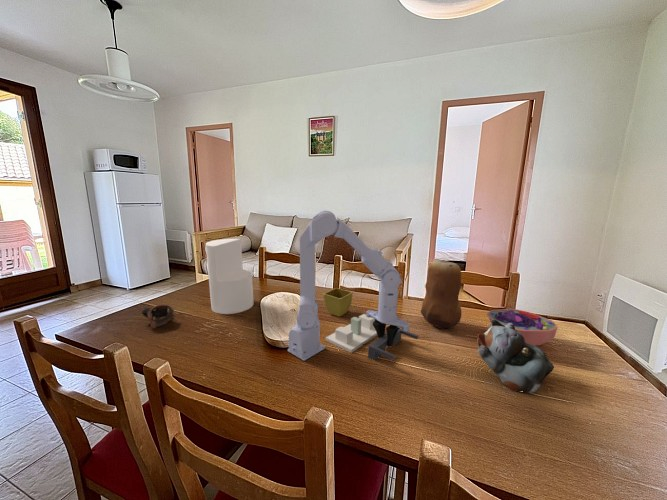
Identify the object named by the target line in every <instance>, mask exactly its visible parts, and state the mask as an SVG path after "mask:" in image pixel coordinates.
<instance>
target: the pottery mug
mask: <svg viewBox="0 0 667 500" xmlns="http://www.w3.org/2000/svg"><path fill="white" fill-rule="evenodd" d="M168 310H169V311H168ZM174 311H175V310H174V308H172V307H171V306H170V305H169V304H165V303H164V304H163V303H161V304H156V305H154V306H153V307H144V308H143V309H142V310H141V314H142V316H144V317H145V318H147V319H148V322H150V328H151V329H153V330H156V328H158V327H161V326H163V325H165V324H168V323H169V322H170V321H171V320H172V319H173V318H174V317H175V316H176V315H175V314H174Z"/></svg>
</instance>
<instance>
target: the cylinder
mask: <svg viewBox="0 0 667 500" xmlns="http://www.w3.org/2000/svg"><path fill="white" fill-rule="evenodd" d="M242 249H243V248H242V238H223V239H214V240H210V241H208V242H206V243H205V252H206V263H207V264H206V266H207V274H208V284H209V296H210V304H211V305H210V307H211V308H210V309H211V311H212V312H214V313H216V314H221V315H231V314H232V315H234V314H238V313H242V312H246V311H247V310H249V309H251V308H252V307H253V306H254V303H255V302H254V288H253V274H252V272H251V271H250V270H247V269H243V268H244V267H243V266H244V263H243V250H242Z"/></svg>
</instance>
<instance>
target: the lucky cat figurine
mask: <svg viewBox="0 0 667 500" xmlns="http://www.w3.org/2000/svg"><path fill="white" fill-rule="evenodd" d="M476 343H477V347H478V349H477V353H478V355H479V356H480V357H481V359H482V361H483V362H484V363H485V364H486V365H487V366H488V368H490V369H491V370H492V371H493V373H495V374H496V375H497V376H498V377H499V378H500V381H501V383H502V384H503V385H504V386H505V387H506V388H507V387H508V388H507V389H509V388H510V389H509V390H511V389H513V390H512V391H514V390H517V391H516V392H518V391H523V392H526V393H525V394H528V393H529V394H533V393H535V392H536V391H539V389H540V388H541V386H542V383H543V381H544V379H545V378H547V377H548V375H549V374H551V373H552V371H553V370H554V368H555V365H553V363H552V362H551V361H550V359H549V358H548V356H547V354H546V353H545V351H543V350H542V349H541V348H540V347H538V346H534V345H530V344H527V343H526V342H525V339H524V337H523V336H522V334H521V333H520V332H518V331H517V330H515V327H514V325H513V324H512V323H508V324H507V325H505V326H504V325H502V324H501V323H499V322H498V321H496V320H492V323H491V322H490V326H489V327H488V329H487V330H486V331H485V332H484V333H477V340H476Z"/></svg>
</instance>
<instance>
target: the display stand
mask: <svg viewBox="0 0 667 500" xmlns="http://www.w3.org/2000/svg"><path fill="white" fill-rule="evenodd" d="M374 321H375V319H374V318H371V317H369V318H368V317H366V314H365V313H363V314H361V315H359V316H358V317H357V316H353V317H351V318H350V323H349V324H347V325H346V326H339V327H337V328H335V331H334V332H332V333H331V334H329V335H327V336H326V337H325V341H327V342H328V343H331V344H332V345H334V346H336V347H339V348H340V349H343V350H345V351H346V352H349V353H350V352H351V354H352V353H353V352H355V351H356V350H358V349H359V348H361V347H362V346H363V344H364V345H365V344H366V343H368V342H370V341H371V340H372V339H373V338H375V337H376V336H377V332H376V330H375V328H374V326H373V322H374ZM377 337H378V336H377Z"/></svg>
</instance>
